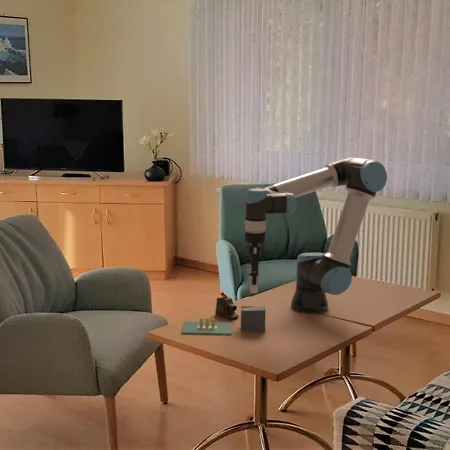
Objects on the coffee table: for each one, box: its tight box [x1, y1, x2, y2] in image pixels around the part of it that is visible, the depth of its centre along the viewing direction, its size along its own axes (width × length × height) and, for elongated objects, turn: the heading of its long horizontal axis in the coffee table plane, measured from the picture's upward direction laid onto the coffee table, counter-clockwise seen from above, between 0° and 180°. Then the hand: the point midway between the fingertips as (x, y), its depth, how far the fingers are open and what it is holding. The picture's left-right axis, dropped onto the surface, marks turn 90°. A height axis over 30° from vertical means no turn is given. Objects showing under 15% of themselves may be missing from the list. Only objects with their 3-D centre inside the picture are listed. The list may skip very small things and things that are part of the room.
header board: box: [181, 317, 232, 336], centre depth 253 cm, size 18×12×4 cm, turn 89°
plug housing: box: [240, 305, 267, 332], centre depth 254 cm, size 9×5×8 cm, turn 89°
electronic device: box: [215, 296, 240, 321], centre depth 267 cm, size 4×10×8 cm, turn 44°
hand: (253, 287), depth 251 cm, fingers open, 13 cm apart
